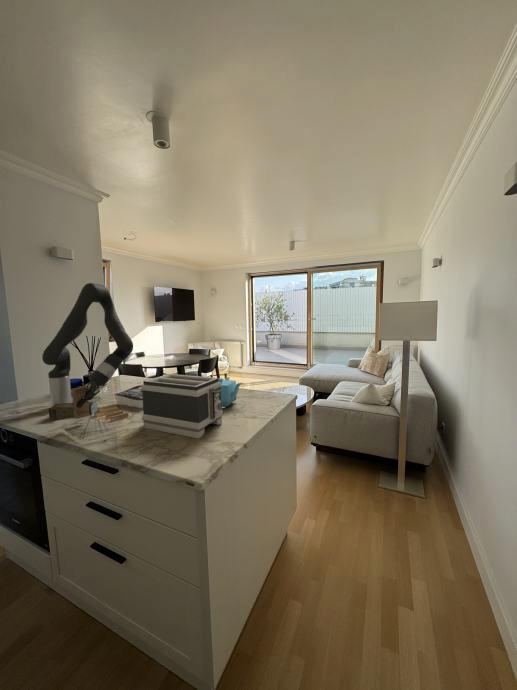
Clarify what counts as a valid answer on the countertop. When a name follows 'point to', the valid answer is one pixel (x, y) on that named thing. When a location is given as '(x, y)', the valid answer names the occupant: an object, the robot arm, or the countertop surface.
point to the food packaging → (130, 397)
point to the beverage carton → (67, 410)
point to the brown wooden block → (77, 395)
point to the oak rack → (110, 413)
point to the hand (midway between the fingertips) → (76, 406)
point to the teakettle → (228, 391)
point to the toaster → (181, 404)
